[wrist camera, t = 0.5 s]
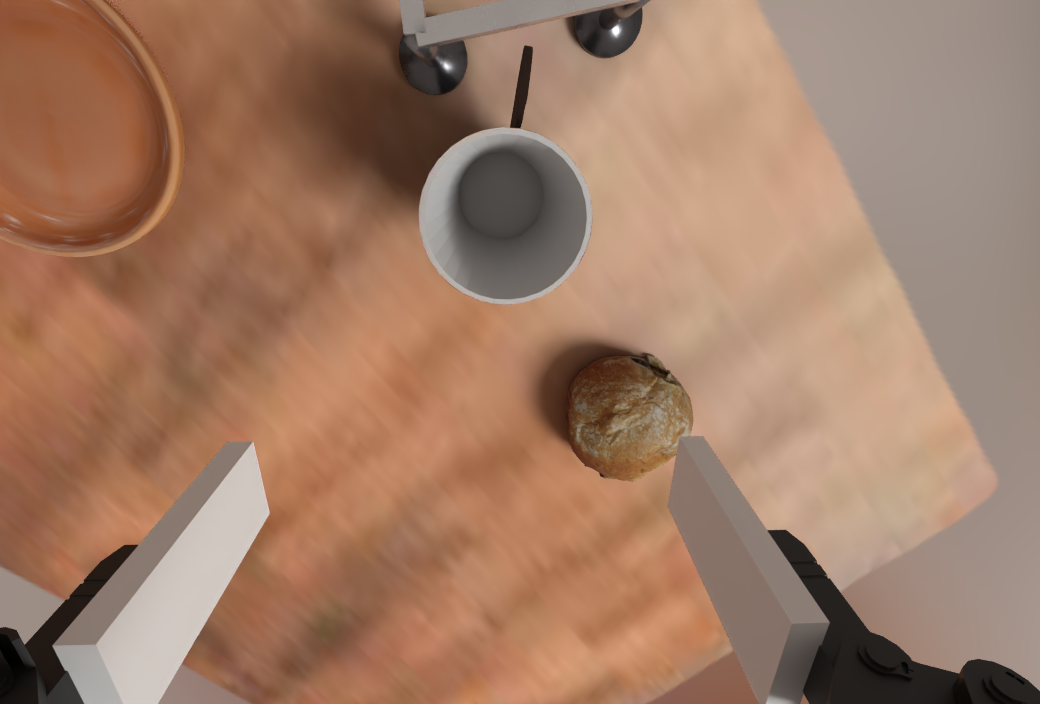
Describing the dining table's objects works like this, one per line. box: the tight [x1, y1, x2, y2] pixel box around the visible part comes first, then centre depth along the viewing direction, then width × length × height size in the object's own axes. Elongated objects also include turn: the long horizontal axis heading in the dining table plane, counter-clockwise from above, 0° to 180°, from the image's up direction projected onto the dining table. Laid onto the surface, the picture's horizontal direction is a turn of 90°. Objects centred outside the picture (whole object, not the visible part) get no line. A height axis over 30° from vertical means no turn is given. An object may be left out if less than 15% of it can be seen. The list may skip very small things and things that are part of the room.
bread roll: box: [566, 355, 693, 482], centre depth 40 cm, size 10×10×8 cm
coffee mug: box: [419, 45, 593, 305], centre depth 29 cm, size 12×9×10 cm
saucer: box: [0, 0, 185, 257], centre depth 30 cm, size 16×16×3 cm
